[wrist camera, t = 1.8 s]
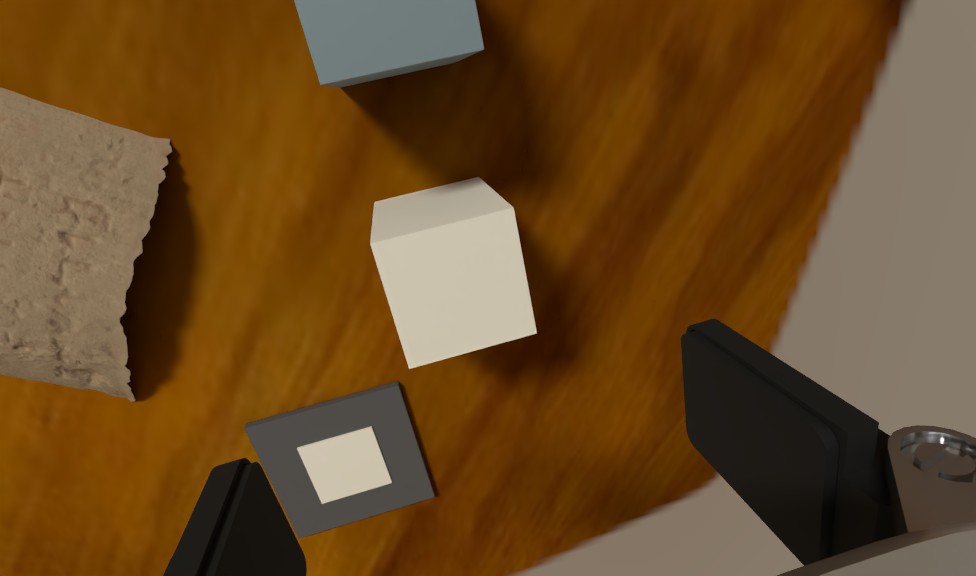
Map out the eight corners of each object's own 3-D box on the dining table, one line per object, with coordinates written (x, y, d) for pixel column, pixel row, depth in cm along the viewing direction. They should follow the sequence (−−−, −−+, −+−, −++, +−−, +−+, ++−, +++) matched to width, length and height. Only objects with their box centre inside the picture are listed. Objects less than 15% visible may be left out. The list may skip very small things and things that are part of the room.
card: (397, 381, 26) (398, 386, 26) (434, 491, 30) (434, 498, 29) (246, 423, 26) (243, 429, 25) (300, 533, 29) (298, 539, 28)
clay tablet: (145, 404, 25) (118, 438, 22) (-112, 366, 22) (-174, 400, 20) (185, 114, 21) (158, 117, 18) (-123, 21, 18) (-205, 10, 15)
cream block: (478, 176, 23) (513, 207, 17) (498, 273, 25) (537, 333, 19) (374, 202, 23) (370, 243, 17) (403, 298, 25) (409, 369, 19)
